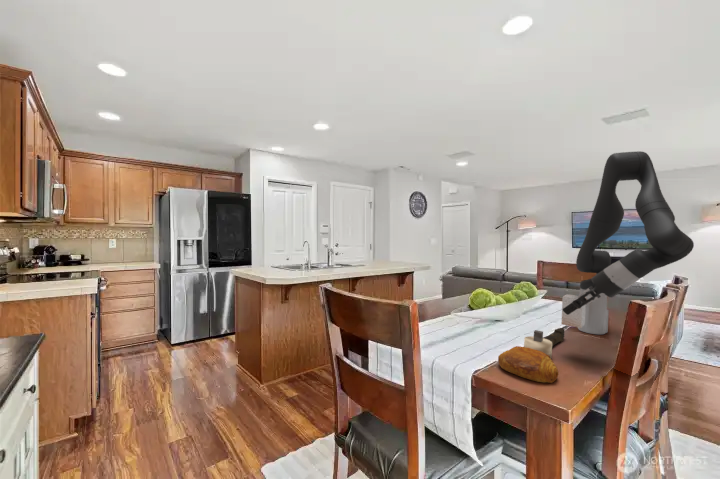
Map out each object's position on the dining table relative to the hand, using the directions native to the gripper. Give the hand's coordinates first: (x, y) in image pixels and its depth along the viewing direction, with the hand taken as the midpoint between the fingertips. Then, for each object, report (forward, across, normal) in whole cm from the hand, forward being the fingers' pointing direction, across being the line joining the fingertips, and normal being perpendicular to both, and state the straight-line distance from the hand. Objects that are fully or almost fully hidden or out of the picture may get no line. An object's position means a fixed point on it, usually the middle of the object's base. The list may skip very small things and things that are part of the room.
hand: (567, 310), depth 107 cm
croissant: (+14, +22, +8) cm, 27 cm away
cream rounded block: (+15, +7, +6) cm, 18 cm away
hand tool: (+15, -10, +7) cm, 20 cm away
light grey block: (+2, 0, +4) cm, 5 cm away
